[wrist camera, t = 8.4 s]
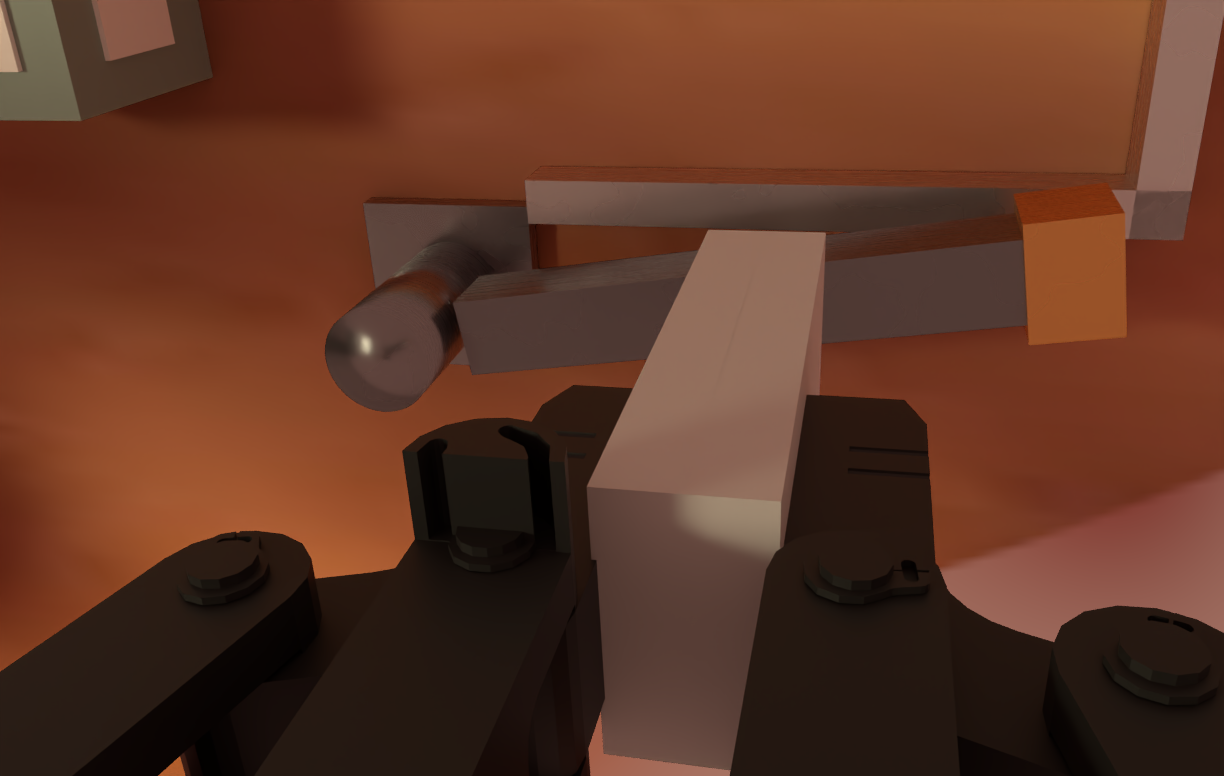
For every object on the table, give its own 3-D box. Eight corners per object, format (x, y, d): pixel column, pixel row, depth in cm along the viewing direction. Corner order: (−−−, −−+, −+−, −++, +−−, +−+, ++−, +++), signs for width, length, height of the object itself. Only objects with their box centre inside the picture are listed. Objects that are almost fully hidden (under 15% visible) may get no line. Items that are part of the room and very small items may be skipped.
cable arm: (503, 354, 31) (473, 392, 29) (478, 259, 30) (446, 291, 27) (1108, 297, 26) (1126, 337, 24) (1106, 182, 25) (1125, 213, 23)
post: (394, 352, 35) (302, 442, 30) (371, 197, 33) (269, 264, 27) (546, 361, 34) (479, 456, 28) (533, 201, 32) (458, 271, 26)
